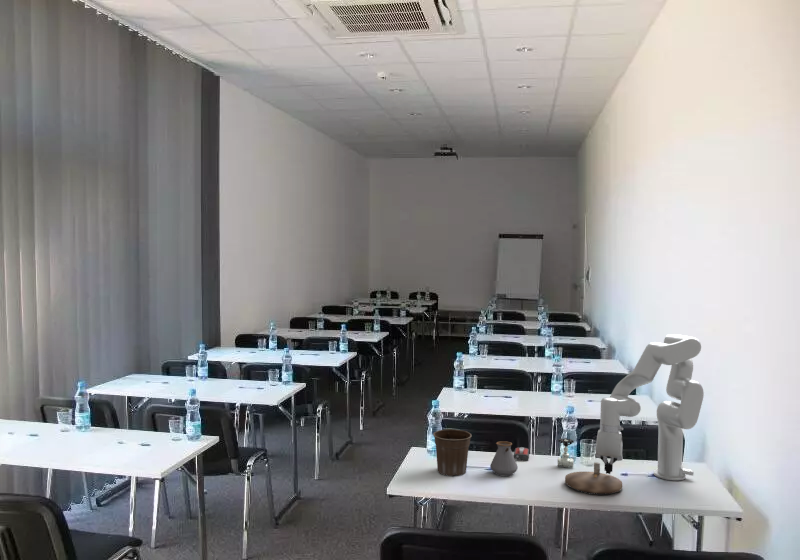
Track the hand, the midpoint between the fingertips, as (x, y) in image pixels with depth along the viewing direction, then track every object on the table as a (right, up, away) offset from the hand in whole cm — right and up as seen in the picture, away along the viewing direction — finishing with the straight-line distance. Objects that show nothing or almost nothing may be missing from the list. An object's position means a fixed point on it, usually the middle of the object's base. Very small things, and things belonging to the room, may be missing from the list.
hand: (608, 472), depth 268 cm
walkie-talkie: (-31, -3, +31) cm, 44 cm away
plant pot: (-63, -3, +10) cm, 64 cm away
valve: (-13, -3, +19) cm, 23 cm away
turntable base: (-8, -4, -6) cm, 11 cm away
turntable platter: (-8, -3, -6) cm, 10 cm away
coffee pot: (-42, -3, +4) cm, 42 cm away
